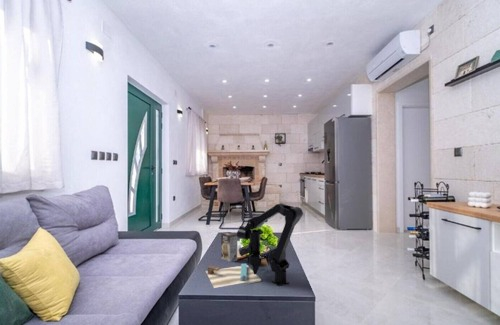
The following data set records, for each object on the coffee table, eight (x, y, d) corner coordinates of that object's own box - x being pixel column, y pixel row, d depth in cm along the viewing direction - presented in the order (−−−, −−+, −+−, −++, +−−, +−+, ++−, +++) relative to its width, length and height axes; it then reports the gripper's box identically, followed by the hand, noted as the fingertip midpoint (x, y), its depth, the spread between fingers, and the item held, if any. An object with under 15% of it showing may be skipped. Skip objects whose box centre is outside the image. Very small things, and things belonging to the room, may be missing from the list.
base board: (261, 281, 128) (261, 279, 128) (214, 289, 120) (214, 287, 120) (247, 266, 148) (247, 265, 148) (205, 272, 139) (205, 271, 139)
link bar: (246, 280, 127) (246, 276, 127) (240, 280, 127) (240, 276, 127) (246, 266, 145) (246, 262, 145) (241, 266, 145) (241, 263, 145)
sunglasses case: (269, 266, 147) (263, 256, 147) (259, 272, 147) (253, 263, 147) (266, 255, 165) (260, 246, 165) (256, 261, 165) (251, 252, 165)
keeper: (219, 274, 135) (219, 267, 135) (216, 276, 133) (216, 269, 133) (210, 271, 138) (210, 265, 138) (207, 273, 136) (207, 267, 136)
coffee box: (220, 259, 160) (220, 233, 161) (229, 256, 165) (228, 231, 165) (229, 262, 153) (229, 235, 154) (237, 260, 158) (237, 234, 158)
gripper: (240, 236, 146) (240, 264, 146) (238, 246, 127) (239, 278, 127) (259, 236, 146) (259, 264, 146) (261, 246, 128) (261, 278, 127)
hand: (254, 270), depth 136 cm, fingers open, 9 cm apart
